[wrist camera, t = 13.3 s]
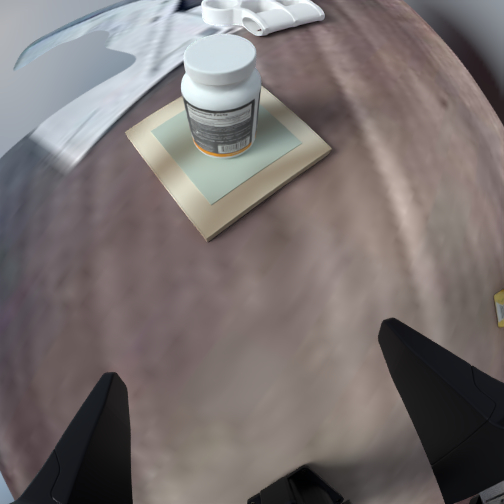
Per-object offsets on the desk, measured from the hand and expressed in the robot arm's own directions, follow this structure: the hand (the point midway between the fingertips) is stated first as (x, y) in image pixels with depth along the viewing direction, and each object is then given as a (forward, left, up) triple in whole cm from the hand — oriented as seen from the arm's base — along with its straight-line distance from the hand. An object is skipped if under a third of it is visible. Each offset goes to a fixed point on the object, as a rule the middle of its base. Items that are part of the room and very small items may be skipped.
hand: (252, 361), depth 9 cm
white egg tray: (+33, -30, -14) cm, 46 cm away
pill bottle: (+15, -9, -13) cm, 21 cm away
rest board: (+15, -9, -14) cm, 22 cm away
